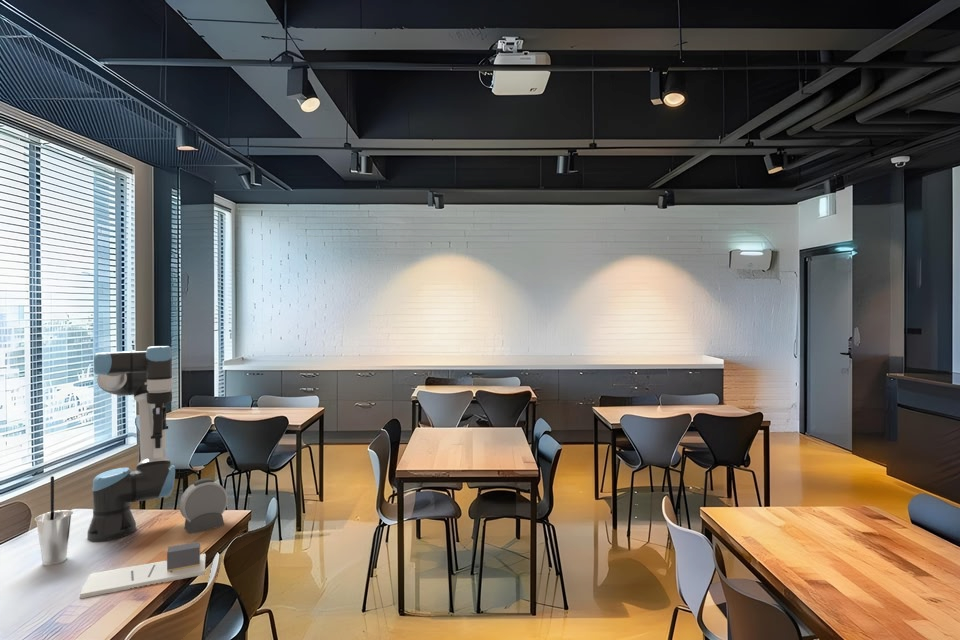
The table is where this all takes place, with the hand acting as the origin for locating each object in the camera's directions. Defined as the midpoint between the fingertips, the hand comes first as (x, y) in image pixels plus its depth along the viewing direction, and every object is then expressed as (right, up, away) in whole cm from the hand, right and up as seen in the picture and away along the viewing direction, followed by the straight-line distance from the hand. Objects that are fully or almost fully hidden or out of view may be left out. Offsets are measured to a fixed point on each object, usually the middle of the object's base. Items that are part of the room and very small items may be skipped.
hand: (160, 452), depth 186 cm
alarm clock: (+3, -35, +24) cm, 42 cm away
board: (+6, -34, -17) cm, 39 cm away
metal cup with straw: (-31, -35, -6) cm, 47 cm away
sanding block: (+15, -33, -13) cm, 38 cm away
